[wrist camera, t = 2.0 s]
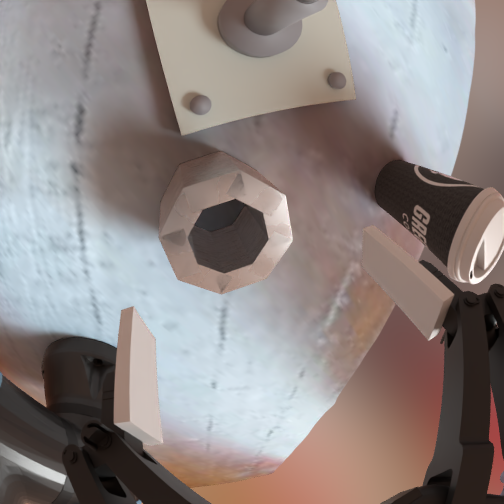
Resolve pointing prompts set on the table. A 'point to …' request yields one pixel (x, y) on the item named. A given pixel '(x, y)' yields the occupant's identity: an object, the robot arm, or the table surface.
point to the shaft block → (249, 57)
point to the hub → (228, 238)
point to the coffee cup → (446, 217)
